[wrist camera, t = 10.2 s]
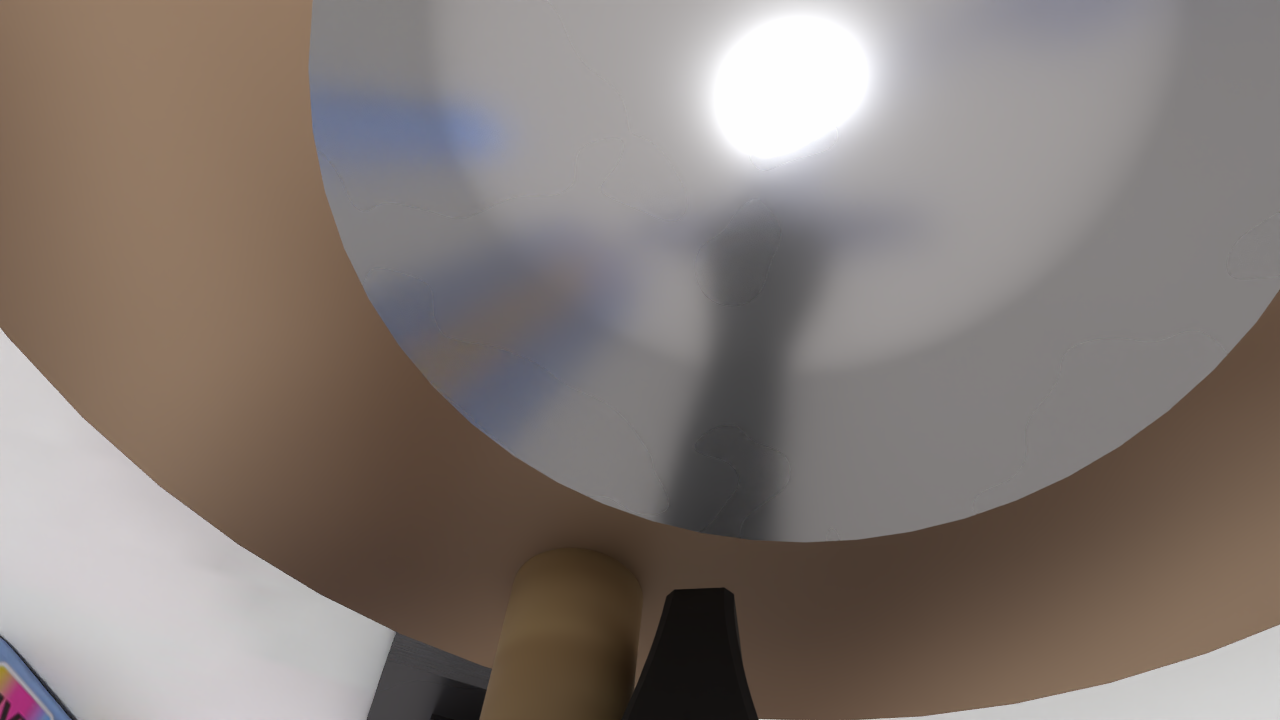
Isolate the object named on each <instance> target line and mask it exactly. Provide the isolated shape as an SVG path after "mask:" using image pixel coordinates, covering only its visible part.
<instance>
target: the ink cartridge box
mask: <svg viewBox="0 0 1280 720" xmlns="http://www.w3.org/2000/svg"><path fill="white" fill-rule="evenodd" d="M0 720H71V719H70V717H69V716H68V715H67V714H66V713H65V711H64V710H63V709H62V708H61V706H60V705H59V704H58V703H57V702H56V701H55V699H54V698H53V697H52V696H51V695H50V694H49V693H48V691H47V690H46V689H45V688H44V687H43V685H42V684H41V683H40V682H39V680H38V679H37V678H36V677H35V675H34V674H33V673H32V672H31V671H30V669H29V668H28V667H27V666H26V665H25V663H24V662H23V661H22V660H21V659H20V657H19V656H18V655H17V654H16V653H15V652H14V651H13V649H12V648H11V647H10V646H9V645H8V644H7V643H6V642H5V641H4V640H3V639H2V638H1V637H0Z"/></svg>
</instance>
